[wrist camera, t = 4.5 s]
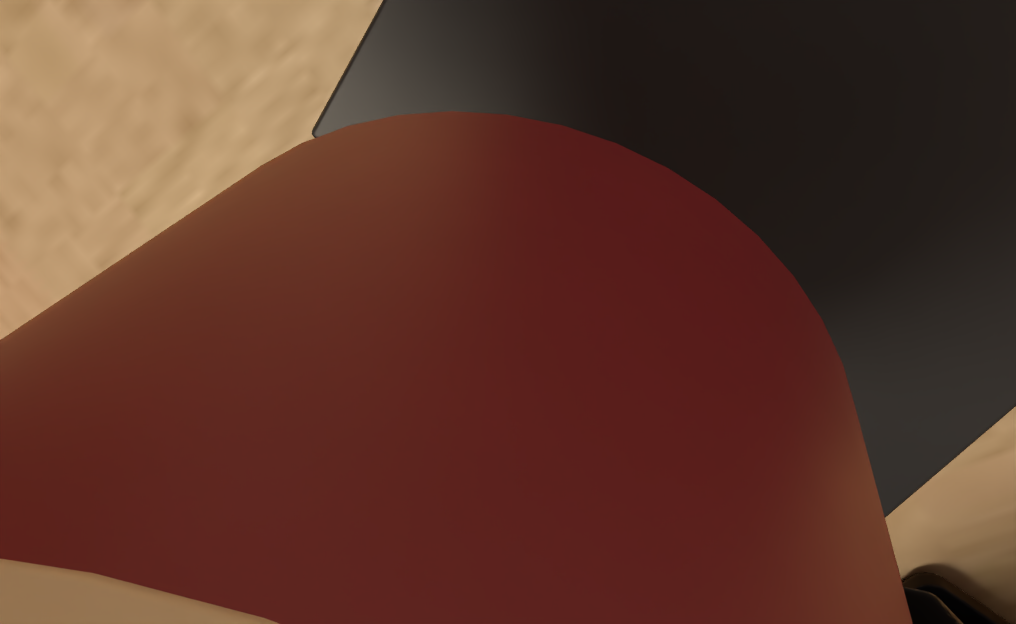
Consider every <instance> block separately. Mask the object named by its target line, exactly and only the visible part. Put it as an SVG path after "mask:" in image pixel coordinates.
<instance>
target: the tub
mask: <svg viewBox="0 0 1016 624" xmlns="http://www.w3.org/2000/svg"><path fill="white" fill-rule="evenodd" d="M0 624H913V623H912V619H911V615H910V611H909V608H908V604H907V600H906V596H905V593H904V589H903V585H902V581H901V578H900V574H899V570H898V566H897V562H896V559H895V555H894V551H893V547H892V544H891V540H890V536H889V532H888V529H887V525H886V521H885V517H884V513H883V510H882V506H881V502H880V498H879V495H878V491H877V487H876V483H875V480H874V476H873V472H872V468H871V464H870V461H869V457H868V453H867V449H866V446H865V442H864V438H863V434H862V431H861V427H860V423H859V419H858V415H857V412H856V408H855V405H854V401H853V398H852V394H851V391H850V387H849V384H848V380H847V377H846V373H845V370H844V366H843V363H842V361H841V359H840V357H839V355H838V352H837V350H836V348H835V346H834V344H833V342H832V339H831V337H830V335H829V333H828V331H827V329H826V326H825V324H824V322H823V320H822V318H821V317H820V315H819V314H818V312H817V311H816V309H815V308H814V306H813V305H812V303H811V302H810V300H809V299H808V297H807V295H806V294H805V292H804V291H803V289H802V288H801V286H800V285H799V283H798V282H797V280H796V279H795V277H794V276H793V275H792V274H791V272H790V271H789V270H788V269H787V268H786V267H785V266H784V264H783V263H782V262H781V261H780V260H779V259H778V258H777V257H776V255H775V254H774V253H773V252H772V251H771V250H770V249H769V247H768V246H767V245H766V244H765V243H764V242H763V241H762V240H761V238H760V237H759V236H758V235H757V234H756V233H754V232H753V231H752V230H751V229H750V228H749V227H747V226H746V225H745V224H744V223H743V222H742V221H741V220H739V219H738V218H737V217H736V216H735V215H734V214H732V213H731V212H730V211H729V210H728V209H727V208H725V207H724V206H723V205H722V204H721V203H720V202H718V201H717V200H716V199H715V198H713V197H712V196H710V195H709V194H707V193H705V192H704V191H702V190H701V189H699V188H698V187H696V186H695V185H693V184H692V183H690V182H689V181H687V180H686V179H684V178H683V177H681V176H679V175H678V174H676V173H675V172H673V171H672V170H670V169H669V168H667V167H665V166H663V165H661V164H658V163H656V162H654V161H652V160H650V159H648V158H646V157H644V156H642V155H640V154H638V153H636V152H634V151H632V150H629V149H627V148H625V147H623V146H621V145H619V144H617V143H614V142H611V141H608V140H605V139H602V138H599V137H596V136H593V135H590V134H587V133H584V132H581V131H578V130H575V129H572V128H569V127H566V126H563V125H558V124H553V123H548V122H543V121H538V120H532V119H527V118H522V117H517V116H512V115H507V114H490V113H474V112H457V111H447V112H433V113H420V114H406V115H396V116H392V117H387V118H382V119H378V120H373V121H369V122H364V123H359V124H355V125H350V126H346V127H344V128H341V129H338V130H336V131H333V132H330V133H328V134H325V135H322V136H320V137H317V138H314V139H312V140H309V141H306V142H304V143H301V144H299V145H298V146H296V147H294V148H292V149H290V150H289V151H287V152H285V153H283V154H282V155H280V156H278V157H276V158H274V159H273V160H271V161H269V162H267V163H265V164H264V165H262V166H260V167H259V168H257V169H256V170H254V171H253V172H251V173H250V174H248V175H247V176H245V177H244V178H242V179H241V180H239V181H238V182H236V183H235V184H233V185H232V186H230V187H229V188H227V189H226V190H224V191H223V192H221V193H220V194H218V195H217V196H215V197H214V198H212V199H211V200H209V201H208V202H206V203H205V204H203V205H202V206H200V207H199V208H197V209H196V210H194V211H193V212H191V213H190V214H188V215H187V216H185V217H184V218H182V219H181V220H179V221H178V222H176V223H175V224H173V225H172V226H170V227H169V228H167V229H166V230H164V231H163V232H161V233H160V234H158V235H157V236H155V237H154V238H152V239H151V240H149V241H148V242H146V243H145V244H144V245H142V246H141V247H139V248H138V249H136V250H135V251H133V252H132V253H130V254H129V255H127V256H126V257H124V258H123V259H121V260H120V261H118V262H117V263H115V264H114V265H112V266H111V267H109V268H108V269H106V270H105V271H103V272H102V273H100V274H99V275H97V276H96V277H94V278H93V279H91V280H90V281H88V282H87V283H85V284H84V285H82V286H81V287H79V288H78V289H76V290H75V291H73V292H72V293H70V294H69V295H67V296H66V297H64V298H63V299H61V300H60V301H58V302H57V303H55V304H54V305H52V306H51V307H49V308H48V309H46V310H45V311H43V312H42V313H40V314H39V315H37V316H36V317H34V318H33V319H31V320H30V321H28V322H27V323H25V324H24V325H22V326H21V327H19V328H18V329H16V330H15V331H13V332H12V333H10V334H9V335H7V336H6V337H4V338H3V339H1V340H0Z"/></svg>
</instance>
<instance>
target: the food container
mask: <svg viewBox="0 0 1016 624" xmlns="http://www.w3.org/2000/svg"><path fill="white" fill-rule="evenodd" d="M447 111H457V112H474V113H490V114H507V115H512V116H517V117H522V118H527V119H532V120H538V121H543V122H548V123H553V124H558V125H563V126H566V127H569V128H572V129H575V130H578V131H581V132H584V133H587V134H590V135H593V136H596V137H599V138H602V139H605V140H608V141H611V142H614V143H617V144H619V145H621V146H623V147H625V148H627V149H629V150H632V151H634V152H636V153H638V154H640V155H642V156H644V157H646V158H648V159H650V160H652V161H654V162H656V163H658V164H661V165H663V166H665V167H667V168H669V169H670V170H672V171H673V172H675V173H676V174H678V175H679V176H681V177H683V178H684V179H686V180H687V181H689V182H690V183H692V184H693V185H695V186H696V187H698V188H699V189H701V190H702V191H704V192H705V193H707V194H709V195H710V196H712V197H713V198H715V199H716V200H717V201H718V202H720V203H721V204H722V205H723V206H724V207H725V208H727V209H728V210H729V211H730V212H731V213H732V214H734V215H735V216H736V217H737V218H738V219H739V220H741V221H742V222H743V223H744V224H745V225H746V226H747V227H749V228H750V229H751V230H752V231H753V232H754V233H756V234H757V235H758V236H759V237H760V238H761V240H762V241H763V242H764V243H765V244H766V245H767V246H768V247H769V249H770V250H771V251H772V252H773V253H774V254H775V255H776V257H777V258H778V259H779V260H780V261H781V262H782V263H783V264H784V266H785V267H786V268H787V269H788V270H789V271H790V272H791V274H792V275H793V276H794V277H795V279H796V280H797V282H798V283H799V285H800V286H801V288H802V289H803V291H804V292H805V294H806V295H807V297H808V299H809V300H810V302H811V303H812V305H813V306H814V308H815V309H816V311H817V312H818V314H819V315H820V317H821V318H822V320H823V322H824V324H825V326H826V329H827V331H828V333H829V335H830V337H831V339H832V342H833V344H834V346H835V348H836V350H837V352H838V355H839V357H840V359H841V361H842V363H843V366H844V370H845V373H846V377H847V380H848V384H849V387H850V391H851V394H852V398H853V401H854V405H855V408H856V412H857V415H858V419H859V423H860V427H861V431H862V434H863V438H864V442H865V446H866V449H867V453H868V457H869V461H870V464H871V468H872V472H873V476H874V480H875V483H876V487H877V491H878V495H879V498H880V502H881V506H882V510H883V513H884V517H886V516H888V515H889V514H890V513H891V512H892V511H893V510H895V509H896V508H897V507H898V506H899V505H900V504H902V503H903V502H904V501H905V500H906V499H907V498H909V497H910V496H911V495H912V494H913V493H914V492H916V491H917V490H918V489H919V488H920V487H921V486H923V485H924V484H925V483H926V482H927V481H929V480H930V479H931V478H932V477H933V476H934V475H936V474H937V473H938V472H939V471H940V470H941V469H943V468H944V467H945V466H946V465H947V464H948V463H950V462H951V461H952V460H953V459H954V458H955V457H957V456H958V455H959V454H960V453H961V452H962V451H964V450H965V449H966V448H967V447H968V446H970V445H971V444H972V443H973V442H974V441H975V440H977V439H978V438H979V437H980V436H981V435H982V434H984V433H985V432H986V431H987V430H988V429H989V428H991V427H992V426H993V425H994V424H995V423H996V422H998V421H999V420H1000V419H1001V418H1002V417H1003V416H1005V415H1006V414H1007V413H1008V412H1009V411H1011V410H1012V409H1013V408H1014V407H1015V406H1016V0H383V2H382V3H381V5H380V7H379V9H378V11H377V13H376V14H375V16H374V18H373V20H372V22H371V24H370V25H369V27H368V29H367V31H366V33H365V35H364V36H363V38H362V40H361V42H360V44H359V46H358V47H357V49H356V51H355V53H354V55H353V57H352V58H351V60H350V62H349V64H348V66H347V68H346V69H345V71H344V73H343V75H342V77H341V79H340V80H339V82H338V84H337V86H336V88H335V90H334V91H333V93H332V95H331V97H330V99H329V101H328V102H327V104H326V106H325V108H324V110H323V111H322V113H321V115H320V117H319V119H318V121H317V122H316V124H315V126H314V128H313V130H312V135H313V136H314V137H315V138H317V137H320V136H322V135H325V134H328V133H330V132H333V131H336V130H338V129H341V128H344V127H346V126H350V125H355V124H359V123H364V122H369V121H373V120H378V119H382V118H387V117H392V116H396V115H406V114H420V113H433V112H447Z"/></svg>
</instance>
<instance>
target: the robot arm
mask: <svg viewBox="0 0 1016 624" xmlns="http://www.w3.org/2000/svg"><path fill="white" fill-rule="evenodd" d="M902 585H903V589H904V593H905V596H906V600H907V604H908V608H909V611H910V615H911V619H912V623H913V624H1010V623H1009V622H1008V621H1006V620H1005V619H1003V618H1002V617H1000V616H999V615H997V614H996V613H994V612H993V611H991V610H990V609H988V608H987V607H985V606H984V605H983V604H981V603H980V602H978V601H977V600H975V599H974V598H972V597H971V596H969V595H968V594H966V593H965V592H963V591H962V590H960V589H959V588H958V587H956V586H955V585H953V584H952V583H950V582H949V581H947V580H946V579H944V578H943V577H941V576H938V575H936V574H933V573H921V574H916V575H914V576H912V577H910V578H908V579H907V580H906V581H904V582H903V583H902ZM935 595H936V596H935Z"/></svg>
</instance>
